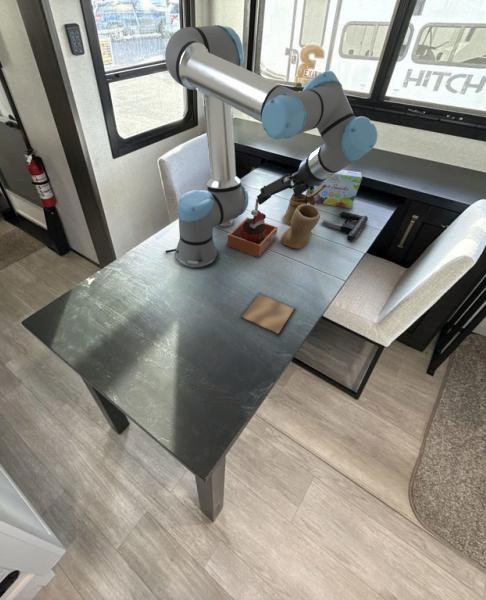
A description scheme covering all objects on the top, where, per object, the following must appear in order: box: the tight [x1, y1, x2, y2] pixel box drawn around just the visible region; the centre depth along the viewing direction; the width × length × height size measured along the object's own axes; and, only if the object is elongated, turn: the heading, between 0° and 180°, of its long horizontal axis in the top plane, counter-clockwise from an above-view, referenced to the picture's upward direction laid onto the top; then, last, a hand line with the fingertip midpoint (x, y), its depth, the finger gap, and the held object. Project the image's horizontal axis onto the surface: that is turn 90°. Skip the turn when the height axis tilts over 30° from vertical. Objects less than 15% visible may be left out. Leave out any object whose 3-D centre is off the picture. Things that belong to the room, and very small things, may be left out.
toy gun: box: [321, 211, 369, 242], centre depth 132 cm, size 3×20×16 cm
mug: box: [219, 219, 234, 228], centre depth 133 cm, size 10×7×7 cm, turn 171°
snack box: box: [305, 169, 363, 209], centre depth 143 cm, size 21×6×15 cm, turn 73°
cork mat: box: [241, 293, 295, 335], centre depth 96 cm, size 12×12×1 cm
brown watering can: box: [282, 184, 326, 226], centre depth 129 cm, size 9×14×18 cm, turn 63°
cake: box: [239, 198, 267, 245], centre depth 118 cm, size 11×9×18 cm
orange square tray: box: [226, 216, 279, 258], centre depth 122 cm, size 14×16×5 cm
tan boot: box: [280, 203, 321, 250], centre depth 120 cm, size 15×12×15 cm
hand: (277, 196), depth 100 cm, fingers open, 13 cm apart
